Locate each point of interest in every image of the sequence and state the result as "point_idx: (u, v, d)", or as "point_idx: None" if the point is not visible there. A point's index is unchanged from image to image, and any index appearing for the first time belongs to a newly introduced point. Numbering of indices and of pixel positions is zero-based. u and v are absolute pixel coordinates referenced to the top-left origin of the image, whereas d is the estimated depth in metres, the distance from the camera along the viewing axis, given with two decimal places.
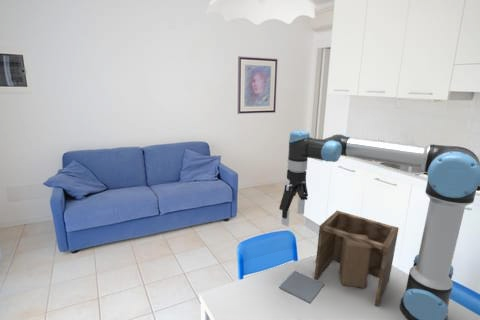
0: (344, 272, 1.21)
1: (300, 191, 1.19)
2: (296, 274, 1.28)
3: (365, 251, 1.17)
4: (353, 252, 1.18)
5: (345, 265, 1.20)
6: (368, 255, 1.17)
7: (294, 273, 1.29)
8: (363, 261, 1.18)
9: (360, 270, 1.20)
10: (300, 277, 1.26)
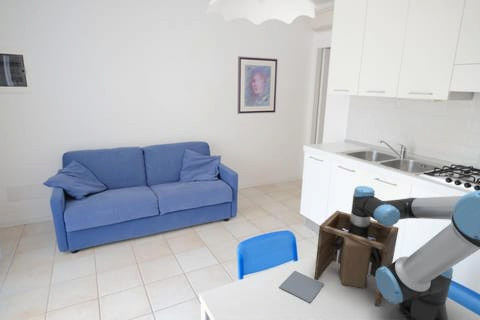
0: (344, 272, 1.21)
1: None
2: (296, 274, 1.28)
3: (365, 251, 1.17)
4: (353, 252, 1.18)
5: (345, 265, 1.21)
6: (368, 255, 1.17)
7: (294, 273, 1.29)
8: (362, 261, 1.18)
9: (360, 270, 1.20)
10: (300, 277, 1.26)
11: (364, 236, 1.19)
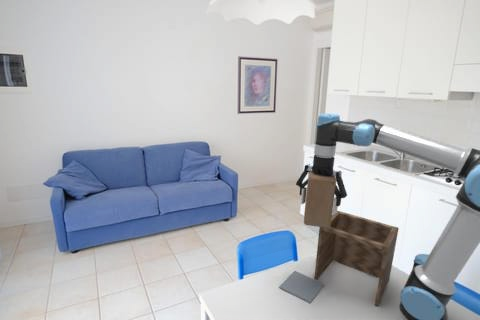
0: (306, 210, 1.10)
1: None
2: (296, 274, 1.28)
3: (329, 185, 1.06)
4: (316, 187, 1.07)
5: (307, 202, 1.09)
6: (332, 189, 1.06)
7: (294, 273, 1.29)
8: (326, 196, 1.07)
9: (323, 208, 1.08)
10: (300, 277, 1.26)
11: (328, 169, 1.07)
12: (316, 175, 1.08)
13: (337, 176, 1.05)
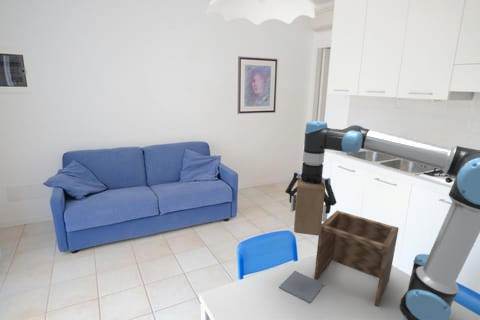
0: (296, 218, 1.10)
1: None
2: (296, 274, 1.28)
3: (318, 193, 1.05)
4: (305, 194, 1.07)
5: (297, 210, 1.09)
6: (321, 197, 1.06)
7: (294, 273, 1.29)
8: (315, 204, 1.07)
9: (313, 215, 1.08)
10: (300, 277, 1.26)
11: (317, 177, 1.07)
12: (305, 183, 1.08)
13: (326, 183, 1.05)
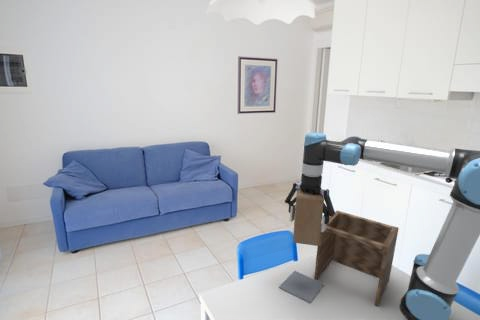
0: (295, 228, 1.11)
1: None
2: (296, 274, 1.28)
3: (317, 204, 1.07)
4: (304, 205, 1.08)
5: (296, 220, 1.10)
6: (320, 208, 1.07)
7: (294, 273, 1.29)
8: (314, 215, 1.08)
9: (312, 226, 1.09)
10: (300, 277, 1.26)
11: (316, 188, 1.08)
12: (304, 194, 1.09)
13: (325, 195, 1.06)
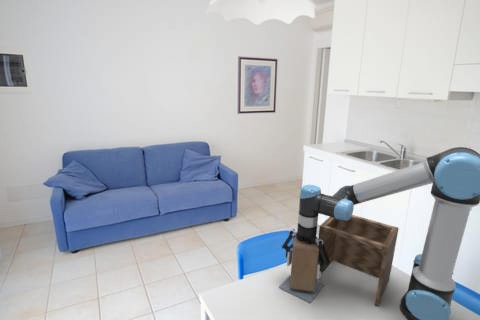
0: (292, 275, 1.16)
1: None
2: None
3: (312, 253, 1.12)
4: (300, 254, 1.13)
5: (292, 268, 1.15)
6: (315, 257, 1.12)
7: None
8: (310, 263, 1.13)
9: (308, 273, 1.14)
10: None
11: (312, 238, 1.13)
12: (300, 243, 1.14)
13: (320, 245, 1.11)
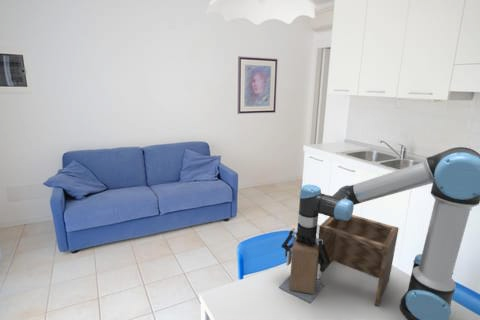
0: (291, 277, 1.16)
1: None
2: None
3: (312, 256, 1.12)
4: (300, 257, 1.13)
5: (292, 270, 1.15)
6: (314, 260, 1.12)
7: None
8: (309, 266, 1.13)
9: (307, 276, 1.14)
10: None
11: (311, 237, 1.13)
12: (300, 245, 1.14)
13: (320, 244, 1.11)
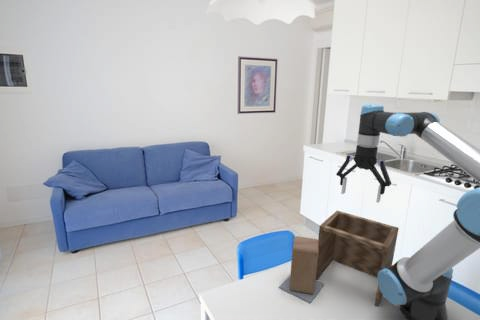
0: (291, 277, 1.16)
1: None
2: None
3: (312, 256, 1.12)
4: (300, 257, 1.13)
5: (292, 270, 1.15)
6: (314, 260, 1.12)
7: None
8: (309, 266, 1.13)
9: (307, 276, 1.14)
10: None
11: (372, 159, 1.10)
12: (300, 245, 1.14)
13: (381, 165, 1.08)
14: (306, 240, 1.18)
